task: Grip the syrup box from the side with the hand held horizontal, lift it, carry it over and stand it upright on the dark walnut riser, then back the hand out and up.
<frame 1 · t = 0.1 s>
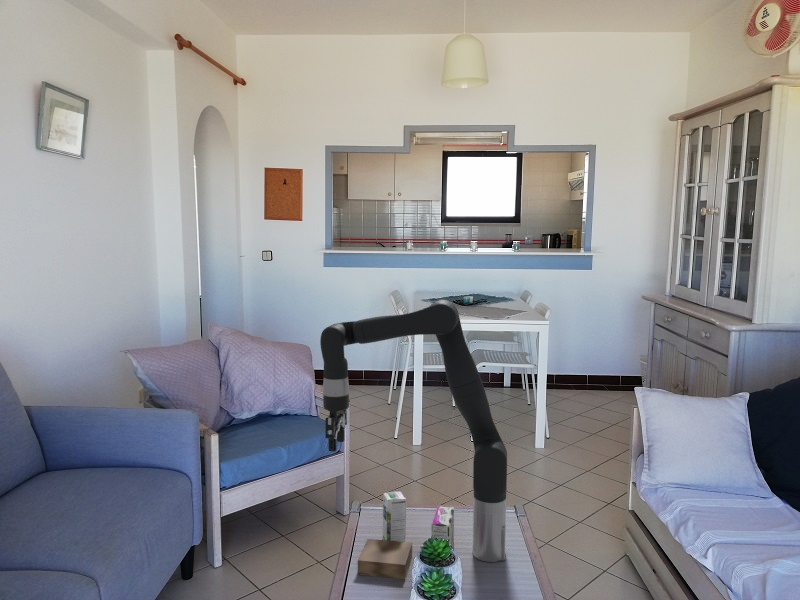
hand: (336, 446, 182), 29 cm above the table, tool pointing down, fingers open, 8 cm apart
candy bar box: (442, 573, 168), on the table
syrup box: (394, 542, 184), on the table
walnut riser: (385, 564, 171), on the table
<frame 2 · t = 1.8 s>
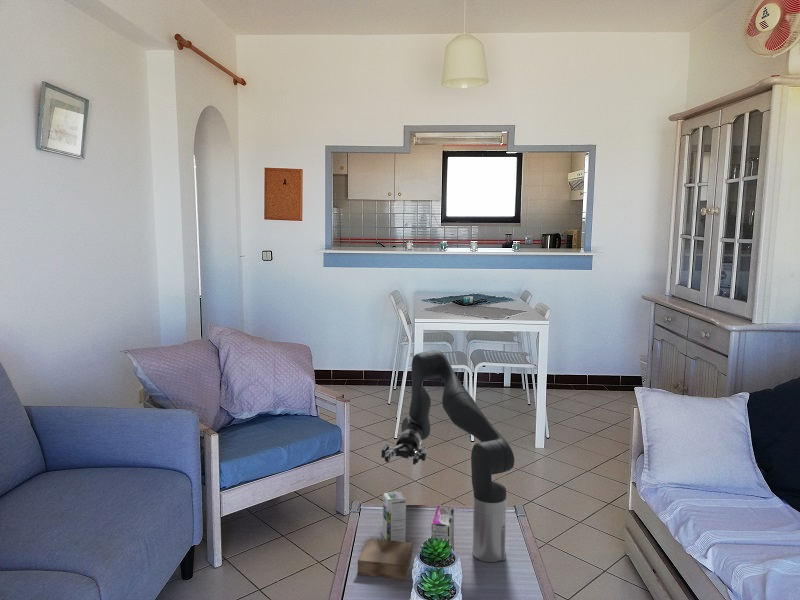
hand: (400, 460, 193), 21 cm above the table, tool horizontal, fingers open, 8 cm apart
nothing on the table moved.
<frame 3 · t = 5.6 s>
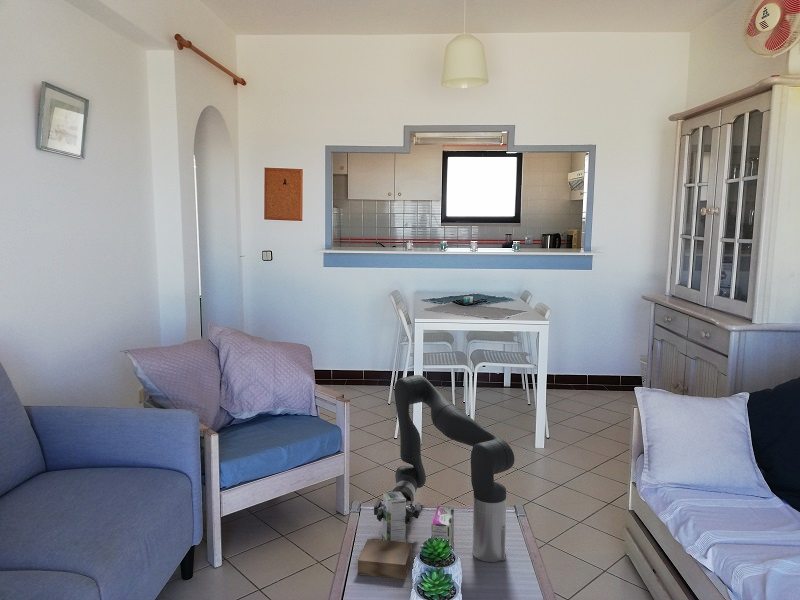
hand: (393, 519, 181), 8 cm above the table, tool horizontal, fingers closed on syrup box, 7 cm apart
syrup box: (394, 542, 184), on the table, touching gripper
everything else where it was.
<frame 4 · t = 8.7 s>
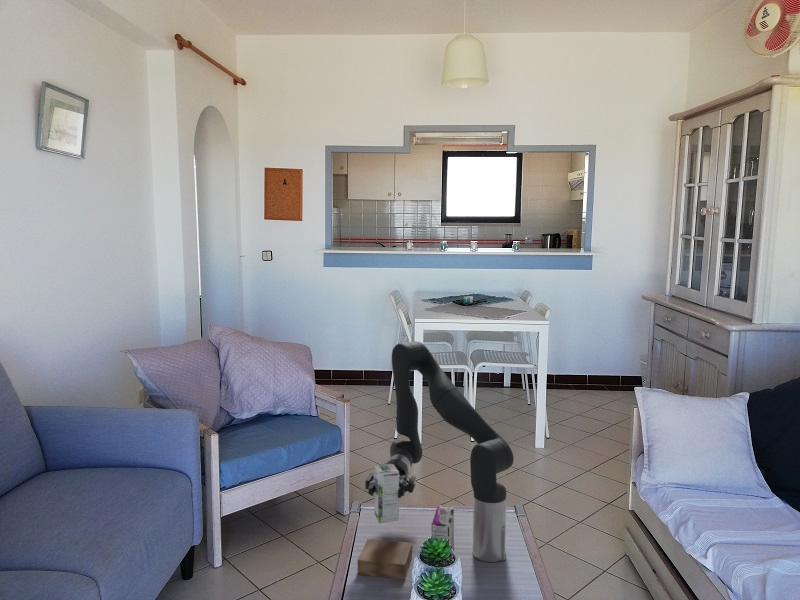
hand: (385, 493, 169), 21 cm above the table, tool horizontal, fingers closed on syrup box, 7 cm apart
syrup box: (386, 518, 172), point 13 cm above the table, touching gripper
everything else where it was.
when the fingers open (13 cm above the table, at t = 11.4 s): syrup box drops 1 cm, resting on walnut riser.
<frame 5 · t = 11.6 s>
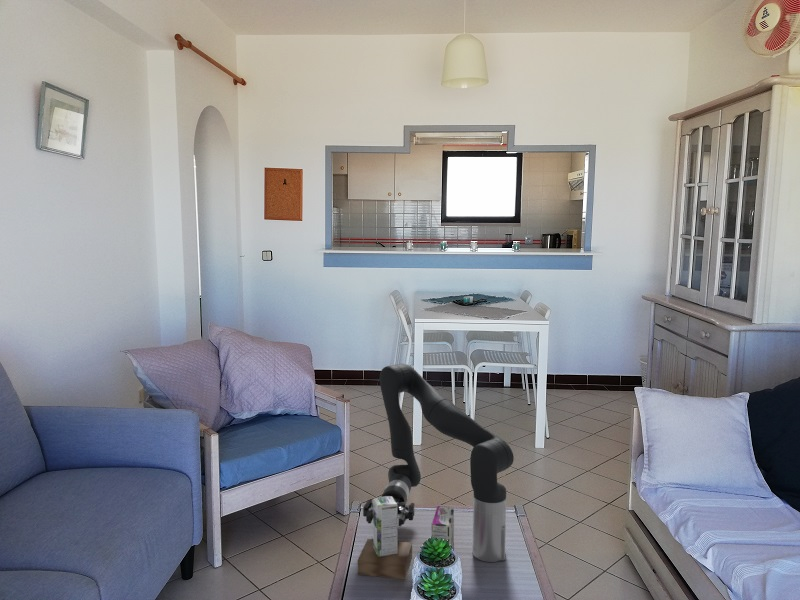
hand: (384, 521, 168), 13 cm above the table, tool horizontal, fingers open, 8 cm apart
syrup box: (385, 551, 171), point 4 cm above the table, touching walnut riser
everything else where it was.
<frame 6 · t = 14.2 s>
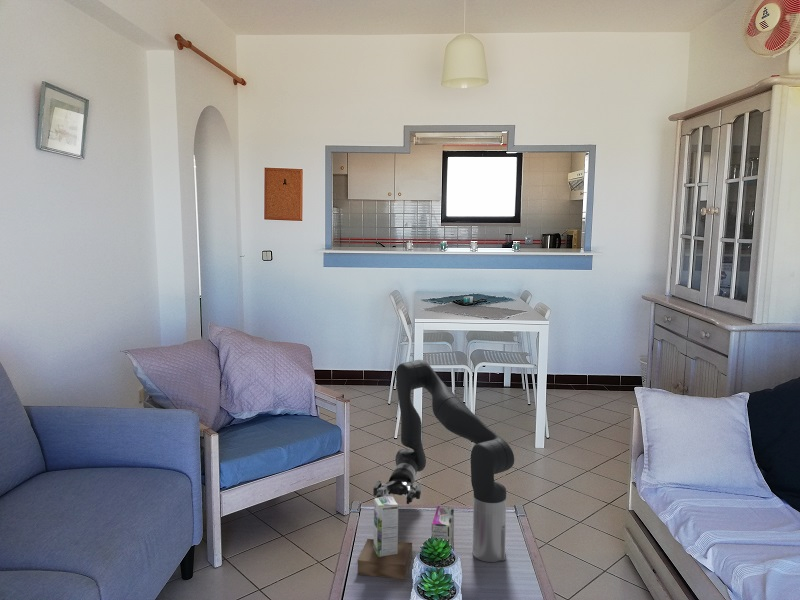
hand: (393, 499, 181), 14 cm above the table, tool horizontal, fingers open, 8 cm apart
nothing on the table moved.
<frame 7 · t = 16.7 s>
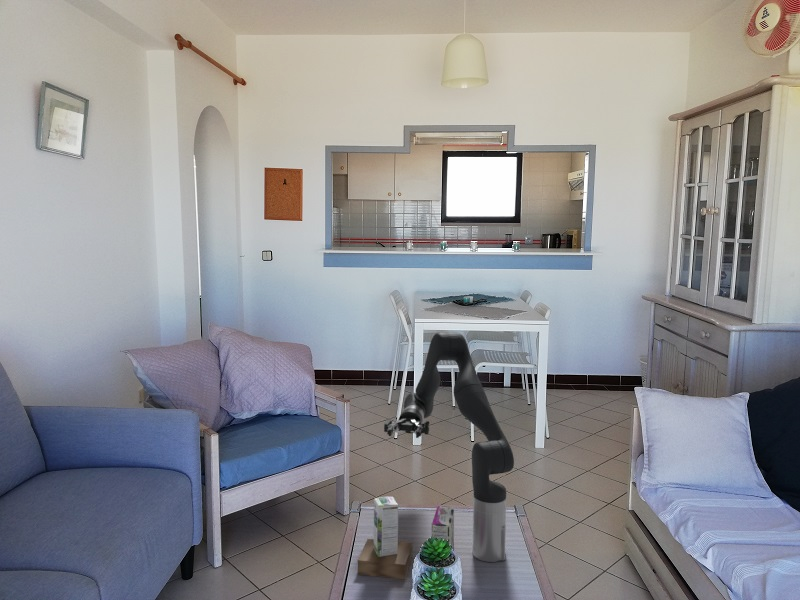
hand: (403, 434, 191), 30 cm above the table, tool horizontal, fingers open, 8 cm apart
nothing on the table moved.
at the end: syrup box inside the target area on the walnut riser (0.2 cm from its centre), point 3.8 cm above the walnut riser's base; syrup box tilted 0°; the gripper is holding nothing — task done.
